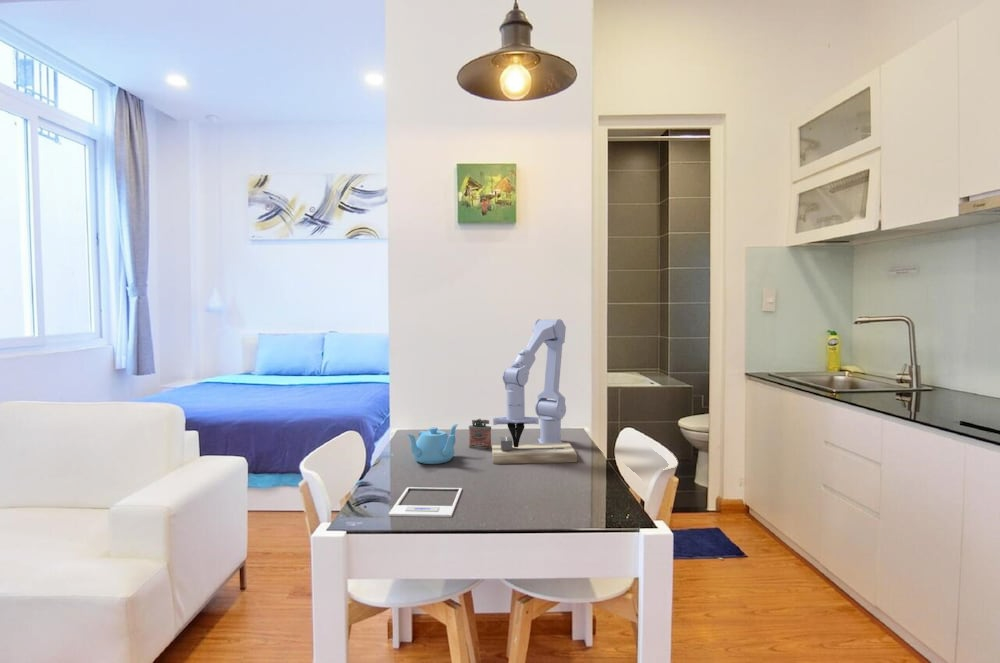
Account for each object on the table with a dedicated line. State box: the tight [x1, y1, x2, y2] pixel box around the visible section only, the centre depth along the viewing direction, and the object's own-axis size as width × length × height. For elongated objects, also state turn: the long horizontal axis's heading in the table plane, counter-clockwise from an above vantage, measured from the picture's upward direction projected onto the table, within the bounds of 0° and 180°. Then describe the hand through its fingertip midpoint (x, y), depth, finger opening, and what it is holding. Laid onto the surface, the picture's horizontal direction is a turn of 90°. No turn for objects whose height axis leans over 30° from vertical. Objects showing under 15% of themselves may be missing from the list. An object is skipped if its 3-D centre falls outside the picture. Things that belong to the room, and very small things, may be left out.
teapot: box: [406, 423, 459, 465], centre depth 163 cm, size 15×15×10 cm
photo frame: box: [387, 486, 463, 518], centre depth 126 cm, size 15×1×18 cm
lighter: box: [468, 418, 492, 451], centre depth 177 cm, size 8×3×10 cm, turn 73°
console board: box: [491, 442, 578, 465], centre depth 165 cm, size 14×26×3 cm, turn 92°
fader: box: [500, 436, 513, 450], centre depth 165 cm, size 5×4×3 cm
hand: (516, 446), depth 165 cm, fingers closed
